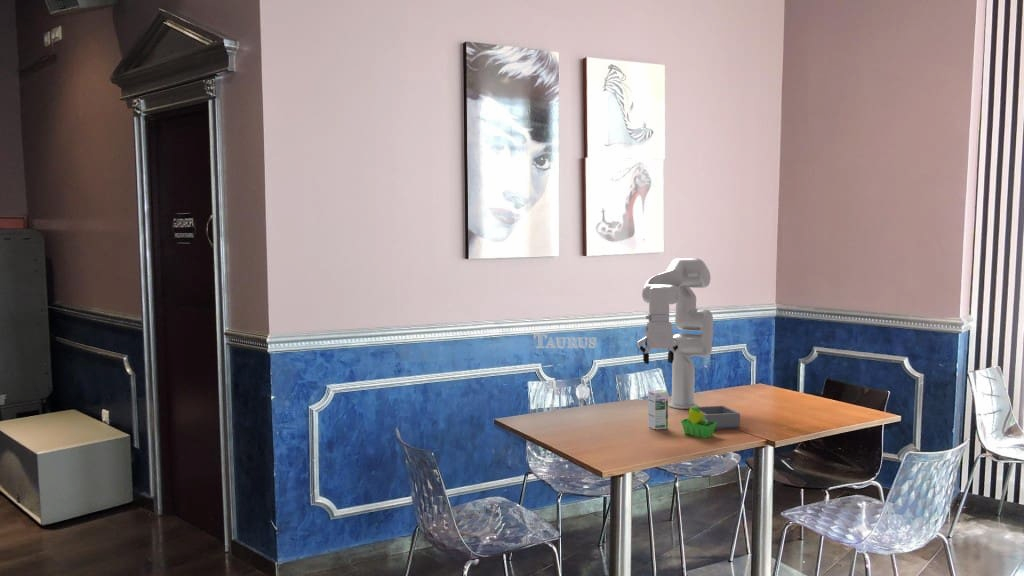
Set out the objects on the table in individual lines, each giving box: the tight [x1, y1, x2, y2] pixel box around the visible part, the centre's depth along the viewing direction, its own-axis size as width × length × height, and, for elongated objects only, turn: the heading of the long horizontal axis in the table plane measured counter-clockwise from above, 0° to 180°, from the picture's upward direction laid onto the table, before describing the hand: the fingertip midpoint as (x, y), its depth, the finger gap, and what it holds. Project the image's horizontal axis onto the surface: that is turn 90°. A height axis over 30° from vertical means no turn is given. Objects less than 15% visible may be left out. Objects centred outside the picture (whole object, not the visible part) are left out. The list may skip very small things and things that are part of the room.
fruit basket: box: [680, 406, 717, 439], centre depth 296 cm, size 11×9×11 cm
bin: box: [689, 405, 741, 431], centre depth 311 cm, size 14×14×6 cm
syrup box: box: [647, 389, 669, 430], centre depth 308 cm, size 6×6×14 cm
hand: (658, 363), depth 306 cm, fingers open, 9 cm apart
